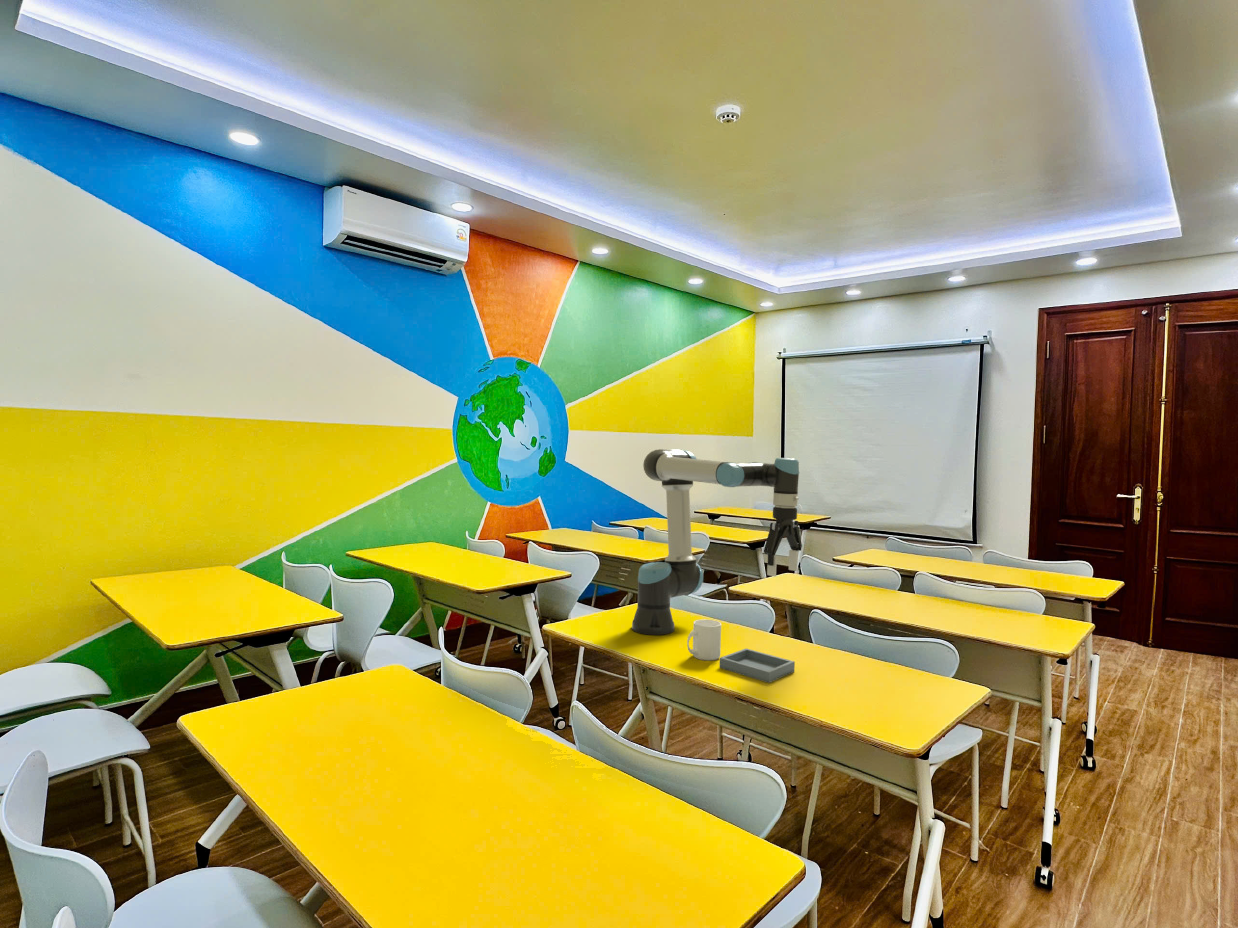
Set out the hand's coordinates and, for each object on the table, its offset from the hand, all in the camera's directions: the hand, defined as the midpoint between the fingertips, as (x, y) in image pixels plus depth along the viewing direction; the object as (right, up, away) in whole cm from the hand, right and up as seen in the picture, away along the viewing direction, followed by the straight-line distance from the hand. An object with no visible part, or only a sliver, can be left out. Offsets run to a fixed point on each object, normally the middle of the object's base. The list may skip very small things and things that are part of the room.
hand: (782, 572), depth 214 cm
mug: (-26, -26, -4) cm, 37 cm away
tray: (-11, -27, -14) cm, 32 cm away
